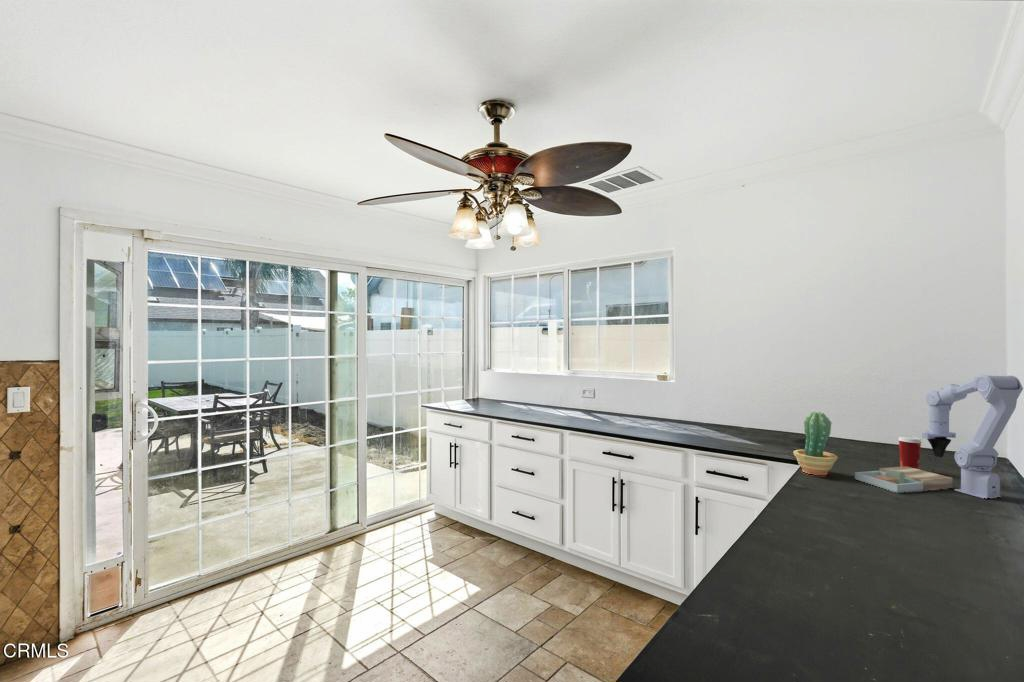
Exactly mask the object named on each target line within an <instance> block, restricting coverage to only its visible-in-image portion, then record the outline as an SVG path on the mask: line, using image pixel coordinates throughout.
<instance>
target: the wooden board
mask: <svg viewBox="0 0 1024 682" xmlns="http://www.w3.org/2000/svg"><path fill="white" fill-rule="evenodd" d="M878 469H879V470H878V471H882V472H886V469H895V470H898V471H902V472H904V478H907V479H911V480H915V481H918V482H922V483H923V491H922V492H927V491H928V490H929V491H930V490H931V491H941V490H940V489H943V490H949V489H948V488H952V489H953V477H951V476H946V475H942V474H938V473H935V472H931V471H927V470H922V469H915V468H911V467H907V466H906V467H901V466H895V467H893V466H892V467H879V468H878ZM931 491H930V492H931Z"/></svg>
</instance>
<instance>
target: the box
mask: <svg viewBox="0 0 1024 682" xmlns="http://www.w3.org/2000/svg"><path fill="white" fill-rule="evenodd" d="M879 475H885V476H886V472H882V471H879V470H872V471H871V470H870V471H856V472H854V480H855V479H856V480H859V481H861V482H860V483H863V482H865V483H864V484H866V483H868V484H867V485H869V484H871V485H870V486H872V485H874V486H873V487H875V486H877V487H876V488H879V487H880V489H882V488H883V490H885V489H886V491H888V490H889V491H888V492H892V493H895V492H896V493H895V494H903V493H904V492H905V493H917V492H924V491H923V483H922V482H918V481H915V480H911V479H907V478H904V484H895V483H891V482H888V481H885V480H881V479H878V478H874V477H873V476H879ZM856 480H855V481H856ZM859 481H858V482H859Z"/></svg>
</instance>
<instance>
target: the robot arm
mask: <svg viewBox="0 0 1024 682" xmlns="http://www.w3.org/2000/svg"><path fill="white" fill-rule="evenodd" d="M1023 387H1024V386H1023V385H1022V383H1021V381H1020V379H1019V378H1017V376H1014V375H985V374H982V375H979V376H975V377H974V379H972V380H970V381H968V382H965V383H963V384H961V385H960V384H956V383H955V384H954V383H950V384H948V386H947V387H944V388H943V387H942V388H939V390H929V391H927V392H926V394H925V402H926V403H927V404H928V406H929V420H928V421H929V425H928V427H929V429H928V430H927V431H925V432H922V433H921V438H922V439H926V440H927V441H928V442H929V444H930V445H931V449H932V451H933V454H934V457H937V458H943V457H944V455H945V452H946V450H947V448H948V446H949V445H950V444H951V442H952V439H956V438H957V435H956V434H957V433H956V432H952V431H950V411H951V410H952V406H953V404H954V403H956V402H958V401H961V400H964V399H966V398H967V396H968V394H971V393H975V392H978V393H979V394H980V395H981V397H982V398H983V399H984V400H985V402H987V403H988V404H989V405H990V406H989V408H988V410H987V412H986V413H985V416H984V417H983V420H982V422H981V423H980V425H979V427H978V429H977V430H976V432H975V435H974V436H973V438H972V440H971V441H969V442H967V443H965V444H962V446H961V447H960V448H959V449H957V450H956V451H955V452H954V460H955V463H956V464H957V466H958V467H960V488H954V491H955V492H959V493H962V494H966V495H970V496H974V497H977V498H981V499H984V498H985V499H984V500H986V499H987V498H990V499H998V498H997V497H1001V498H1002V495H1001V478H1000V476H999V475H998V474H997V473H995V472H992V470H993V469H994V468H995V467H996V465H997V463H998V462H997V461H998V456H999V452H998V451H997V450H996V449H995V448H994V447H995V445H997V444H996V443H997V442H998V440H999V438H1000V436H1001V435H1002V433H1003V431H1004V429H1005V427H1006V426H1007V425H1008V422H1009V421H1010V419H1011V417H1012V415H1013V414H1014V411H1015V410H1016V407H1017V403H1018V399H1019V397H1020V395H1021V393H1022V392H1023V389H1024V388H1023ZM950 438H952V439H950ZM987 500H988V499H987Z"/></svg>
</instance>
